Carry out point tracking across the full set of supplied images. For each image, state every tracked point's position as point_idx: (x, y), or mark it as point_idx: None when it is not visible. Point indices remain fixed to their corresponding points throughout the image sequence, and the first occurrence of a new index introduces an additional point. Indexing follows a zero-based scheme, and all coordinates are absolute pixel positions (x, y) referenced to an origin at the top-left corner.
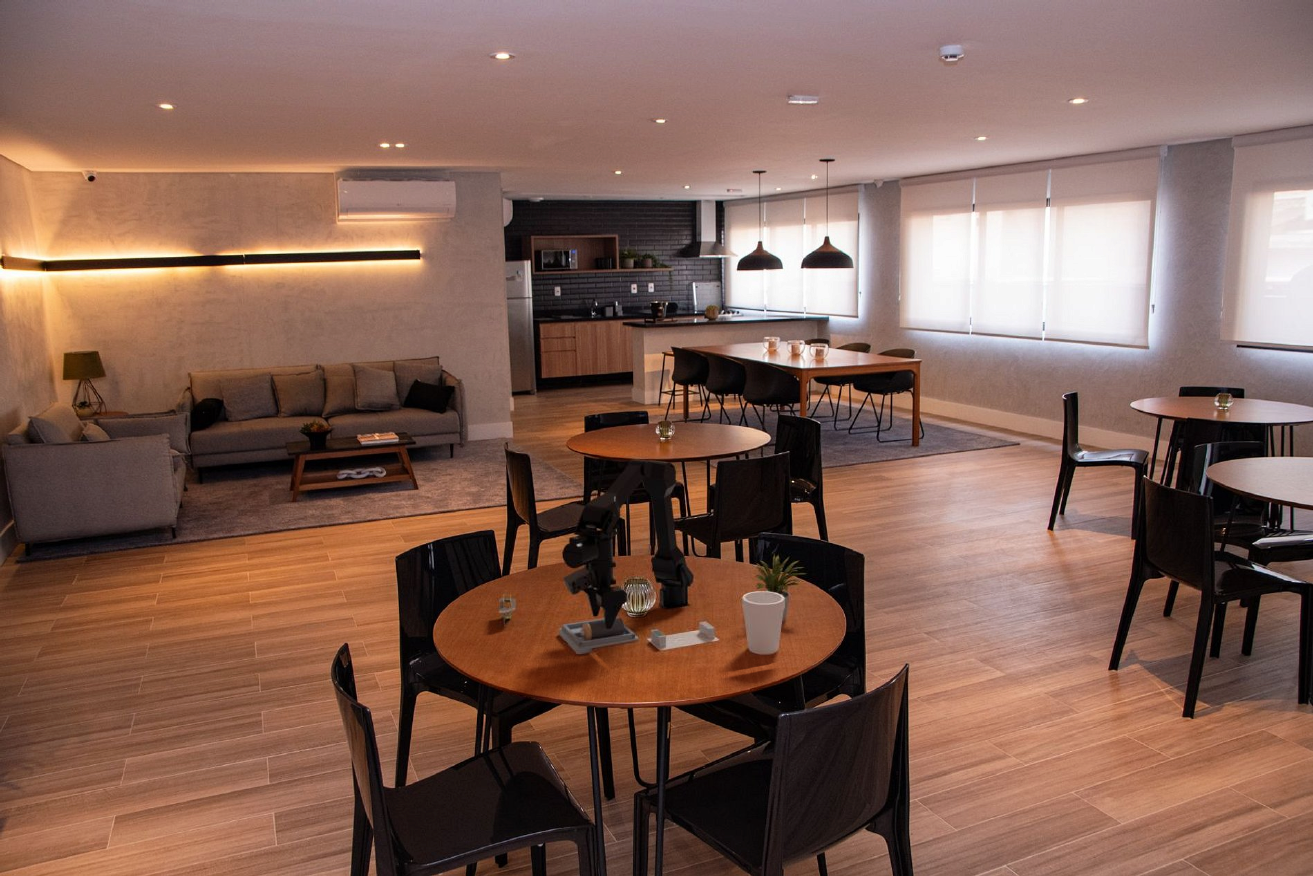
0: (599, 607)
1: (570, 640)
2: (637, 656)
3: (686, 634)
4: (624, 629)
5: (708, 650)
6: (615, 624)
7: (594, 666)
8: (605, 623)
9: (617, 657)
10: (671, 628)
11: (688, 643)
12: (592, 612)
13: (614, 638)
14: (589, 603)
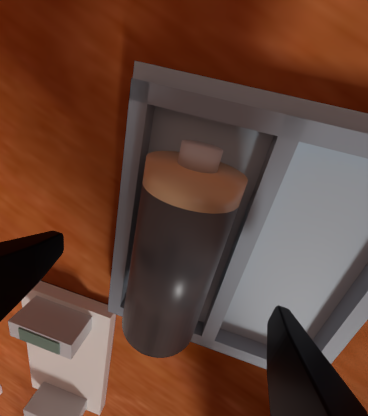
0: (271, 387)
1: (257, 91)
2: (41, 231)
3: (88, 381)
4: None
5: (19, 348)
6: (127, 304)
7: (9, 62)
8: (31, 242)
9: (56, 183)
10: (171, 397)
11: (37, 348)
12: (291, 325)
13: (115, 245)
14: (355, 400)
